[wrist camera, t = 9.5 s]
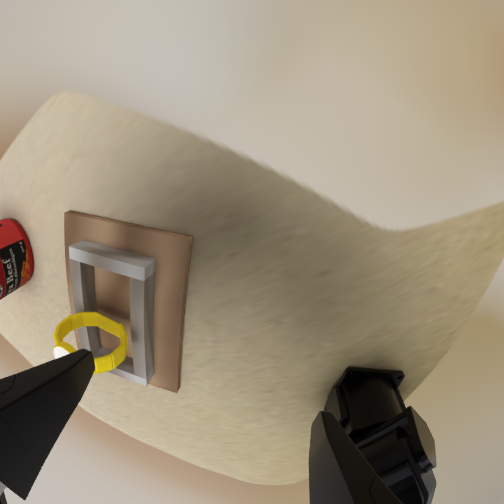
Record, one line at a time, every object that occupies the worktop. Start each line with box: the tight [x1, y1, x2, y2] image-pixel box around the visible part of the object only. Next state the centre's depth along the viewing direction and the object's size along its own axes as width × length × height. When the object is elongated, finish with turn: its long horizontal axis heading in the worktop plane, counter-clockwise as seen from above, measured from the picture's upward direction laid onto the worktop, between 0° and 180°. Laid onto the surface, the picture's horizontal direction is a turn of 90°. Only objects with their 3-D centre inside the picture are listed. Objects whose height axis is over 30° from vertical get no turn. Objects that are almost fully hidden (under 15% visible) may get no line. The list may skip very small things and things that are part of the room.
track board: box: [64, 211, 192, 393], centre depth 21 cm, size 12×16×3 cm
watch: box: [54, 312, 128, 374], centre depth 17 cm, size 6×3×6 cm, turn 77°
